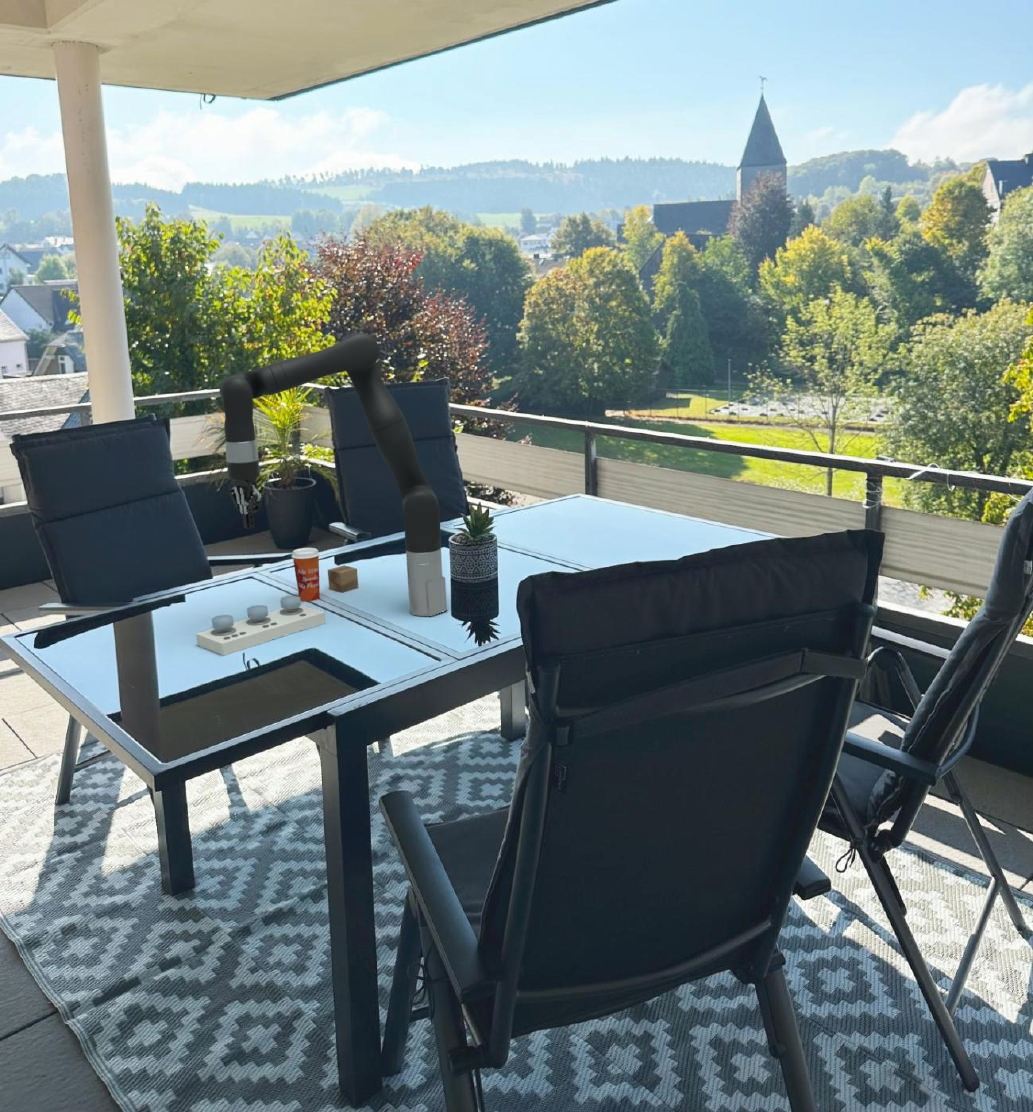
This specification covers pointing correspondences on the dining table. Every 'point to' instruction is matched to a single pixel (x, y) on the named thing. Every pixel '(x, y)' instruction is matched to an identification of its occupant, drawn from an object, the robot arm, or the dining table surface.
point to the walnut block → (343, 579)
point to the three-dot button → (222, 622)
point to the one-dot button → (290, 602)
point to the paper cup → (307, 573)
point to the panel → (259, 629)
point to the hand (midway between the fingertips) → (249, 528)
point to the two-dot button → (257, 611)
